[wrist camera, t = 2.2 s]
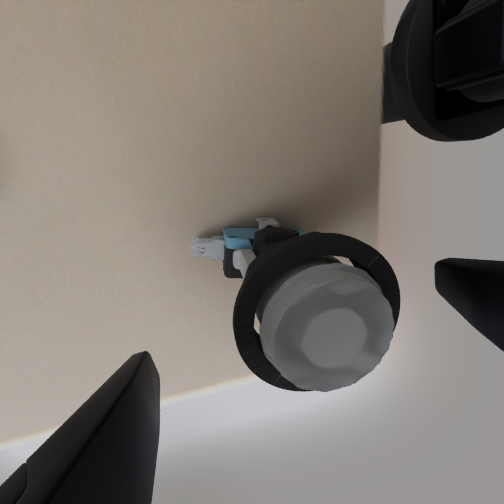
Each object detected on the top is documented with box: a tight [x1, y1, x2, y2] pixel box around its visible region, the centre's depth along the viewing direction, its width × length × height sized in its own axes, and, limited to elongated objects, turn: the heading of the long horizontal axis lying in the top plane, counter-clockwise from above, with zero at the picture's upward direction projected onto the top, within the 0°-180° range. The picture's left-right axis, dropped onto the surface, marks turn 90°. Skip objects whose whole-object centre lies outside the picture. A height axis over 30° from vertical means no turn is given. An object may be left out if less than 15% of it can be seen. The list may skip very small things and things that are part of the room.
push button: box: [192, 217, 400, 392], centre depth 13 cm, size 7×5×10 cm
